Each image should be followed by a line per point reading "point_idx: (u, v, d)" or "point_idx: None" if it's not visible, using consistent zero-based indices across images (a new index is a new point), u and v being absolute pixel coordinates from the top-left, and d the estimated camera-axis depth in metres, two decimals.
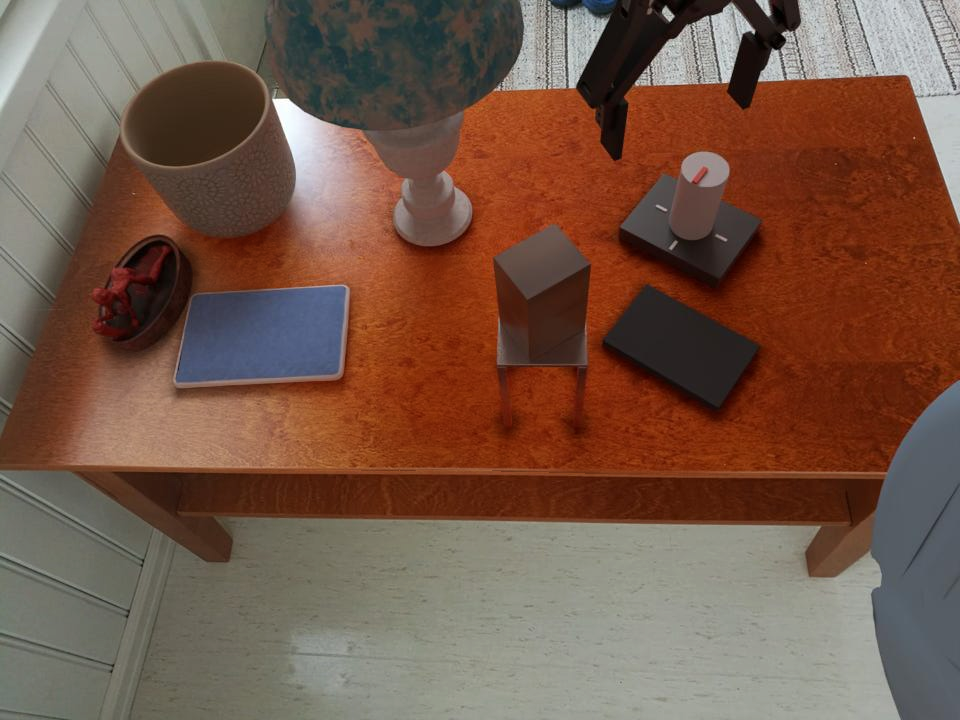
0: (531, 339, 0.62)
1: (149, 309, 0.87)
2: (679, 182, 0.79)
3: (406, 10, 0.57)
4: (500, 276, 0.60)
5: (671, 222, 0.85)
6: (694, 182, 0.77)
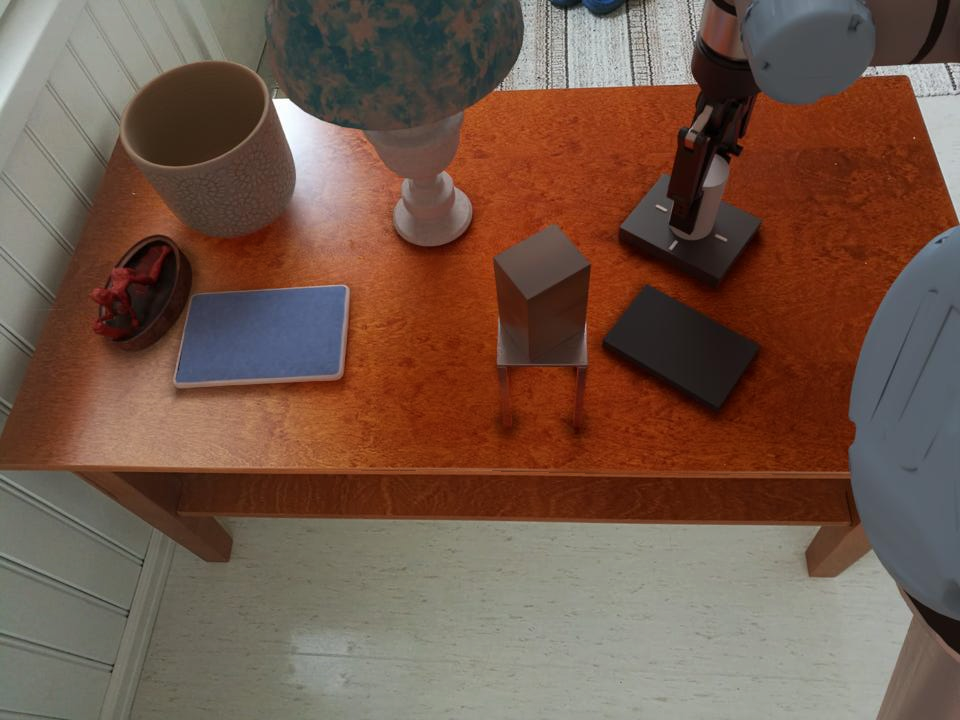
0: (531, 339, 0.62)
1: (149, 309, 0.87)
2: None
3: (406, 10, 0.57)
4: (500, 276, 0.60)
5: None
6: None
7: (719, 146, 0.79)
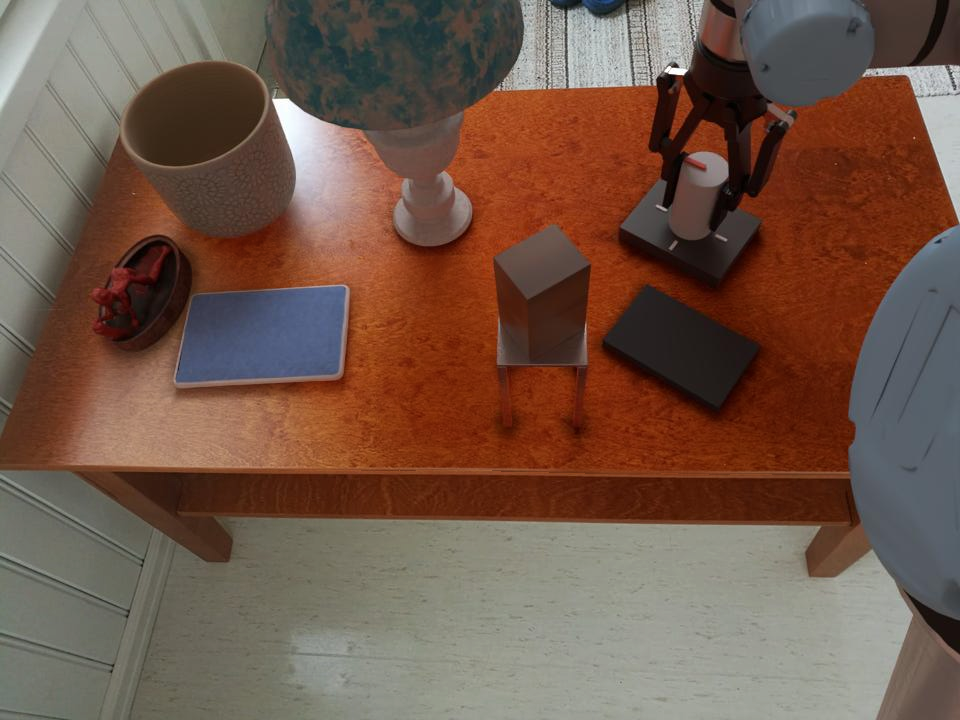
0: (531, 339, 0.62)
1: (149, 309, 0.87)
2: None
3: (406, 10, 0.57)
4: (500, 276, 0.60)
5: None
6: (685, 159, 0.78)
7: None
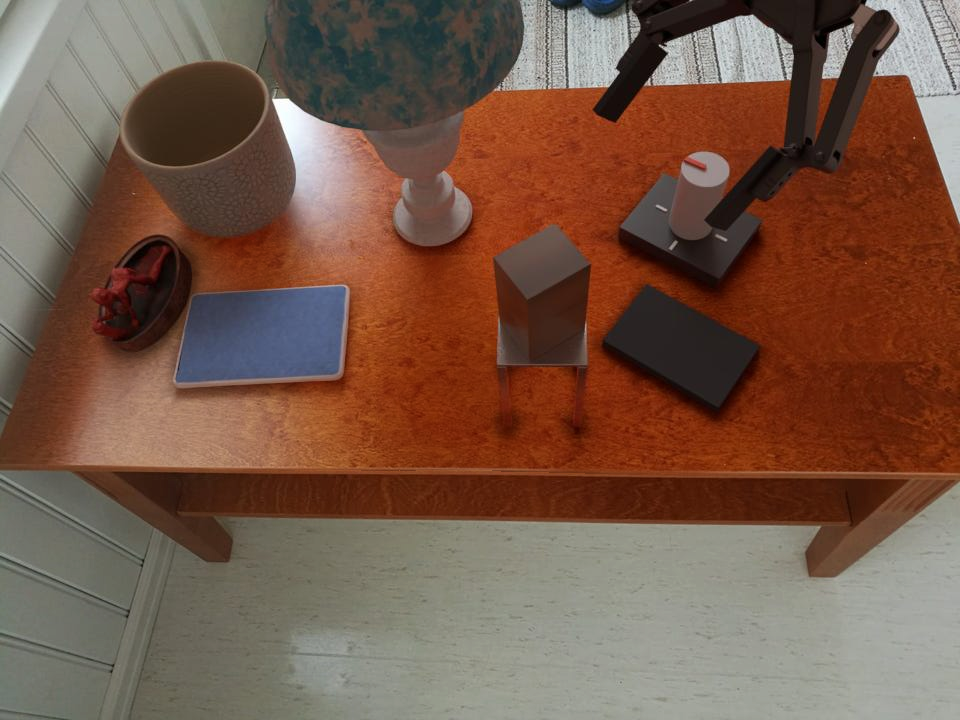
0: (531, 339, 0.62)
1: (149, 309, 0.87)
2: None
3: (406, 10, 0.57)
4: (500, 276, 0.60)
5: None
6: (685, 159, 0.78)
7: None
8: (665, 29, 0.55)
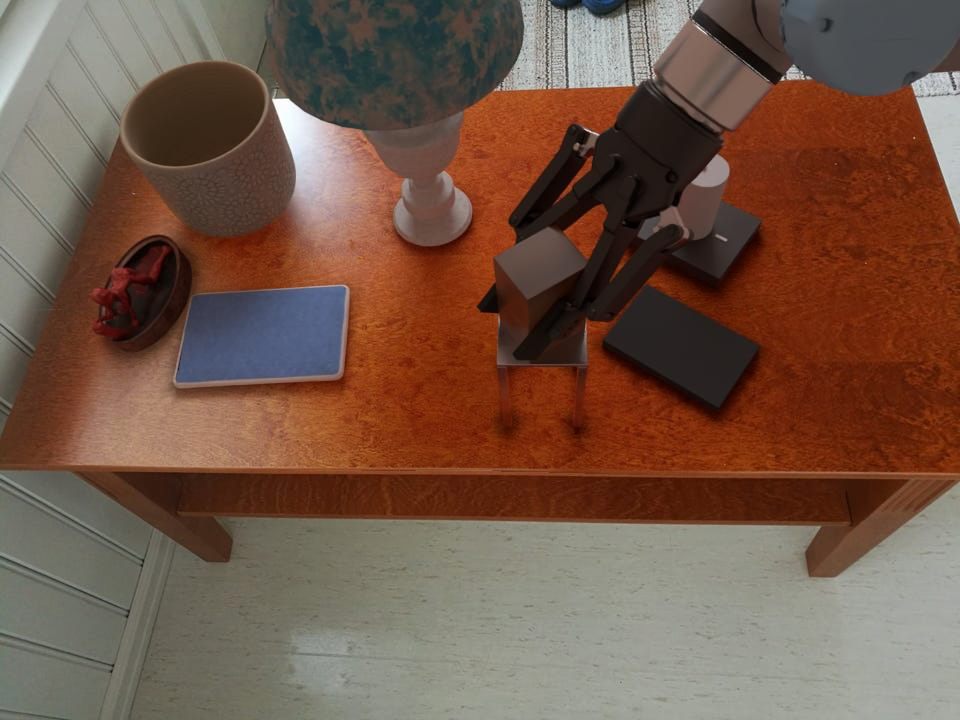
0: None
1: (149, 309, 0.87)
2: None
3: (406, 10, 0.57)
4: (500, 276, 0.60)
5: None
6: None
7: None
8: None
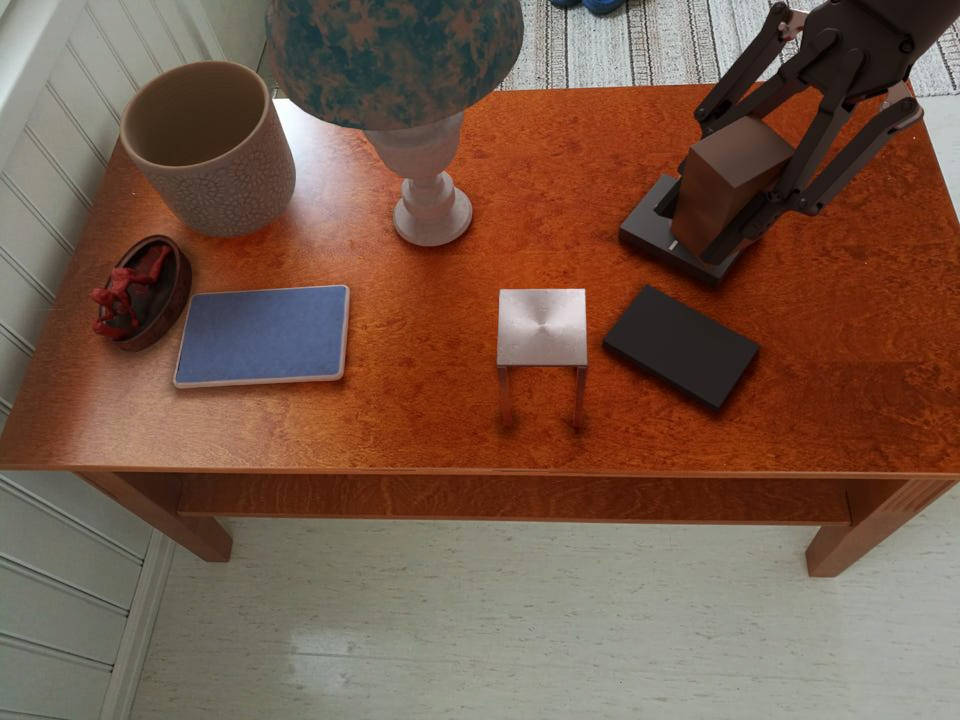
0: None
1: (149, 309, 0.87)
2: None
3: (406, 10, 0.57)
4: (693, 169, 0.56)
5: None
6: None
7: None
8: None
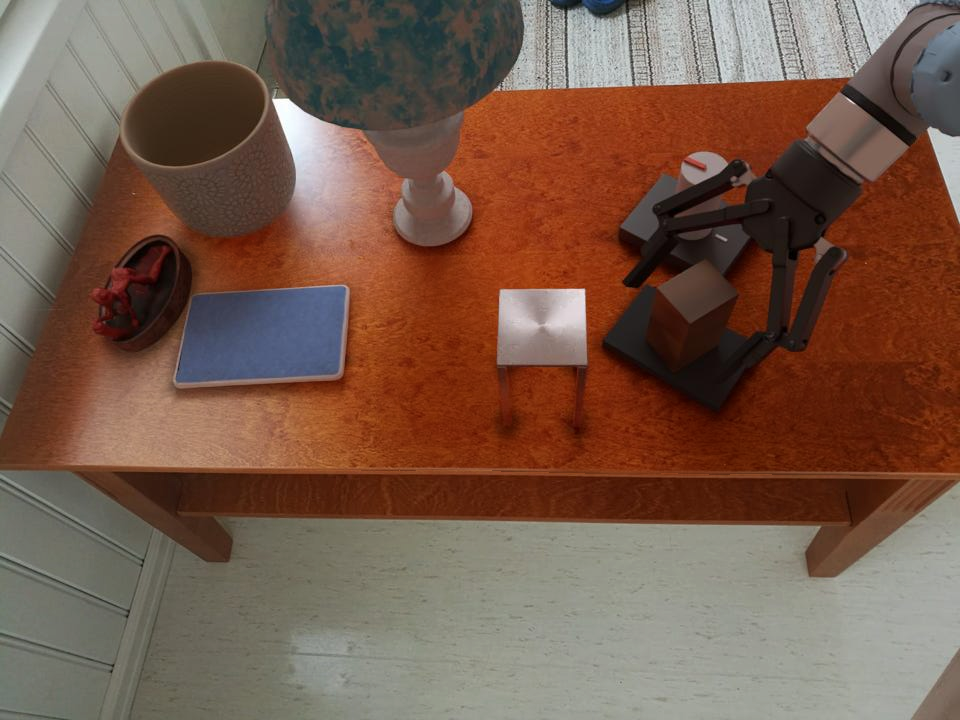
0: (681, 354, 0.74)
1: (149, 309, 0.87)
2: None
3: (406, 10, 0.57)
4: (660, 303, 0.72)
5: None
6: (685, 159, 0.78)
7: None
8: (678, 229, 0.73)
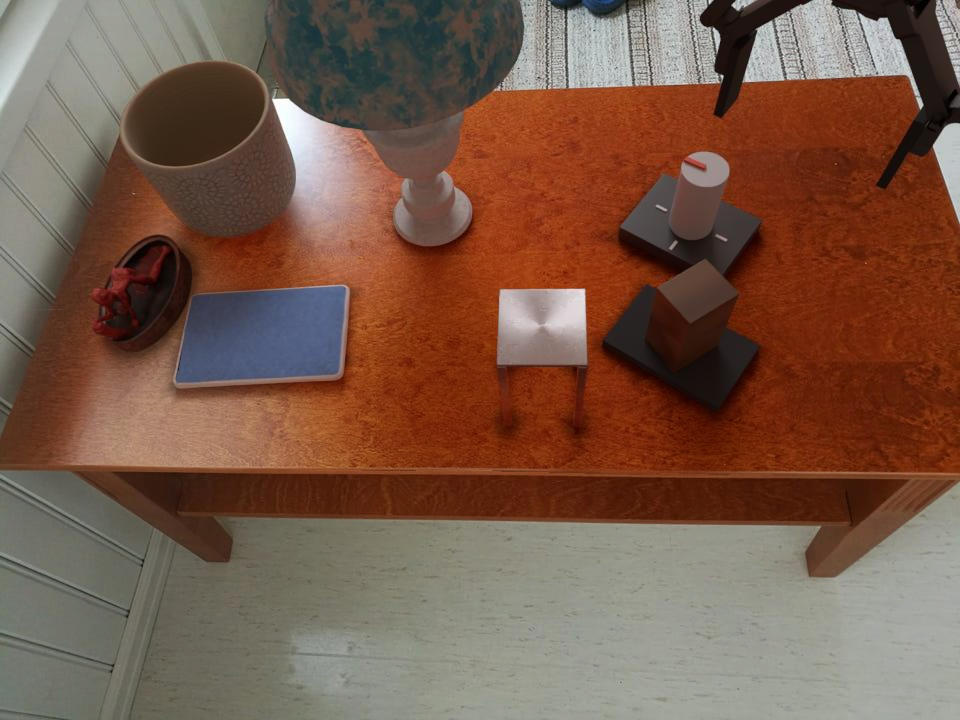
0: (681, 354, 0.74)
1: (149, 309, 0.87)
2: None
3: (406, 10, 0.57)
4: (660, 303, 0.72)
5: None
6: (685, 159, 0.78)
7: None
8: None
